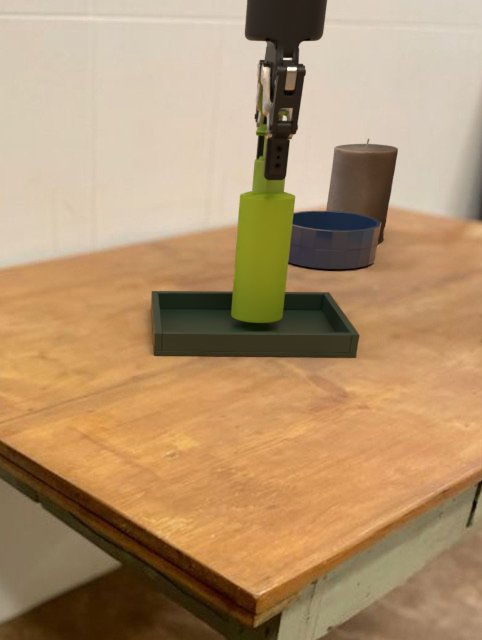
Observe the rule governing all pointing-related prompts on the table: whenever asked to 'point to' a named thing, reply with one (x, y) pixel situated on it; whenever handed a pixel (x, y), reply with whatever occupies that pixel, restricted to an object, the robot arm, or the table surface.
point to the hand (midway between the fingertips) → (269, 173)
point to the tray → (249, 327)
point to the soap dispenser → (262, 247)
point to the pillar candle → (362, 180)
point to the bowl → (333, 239)
